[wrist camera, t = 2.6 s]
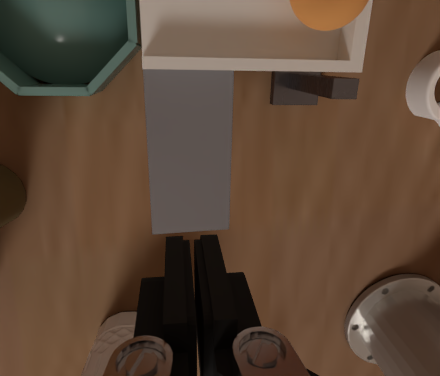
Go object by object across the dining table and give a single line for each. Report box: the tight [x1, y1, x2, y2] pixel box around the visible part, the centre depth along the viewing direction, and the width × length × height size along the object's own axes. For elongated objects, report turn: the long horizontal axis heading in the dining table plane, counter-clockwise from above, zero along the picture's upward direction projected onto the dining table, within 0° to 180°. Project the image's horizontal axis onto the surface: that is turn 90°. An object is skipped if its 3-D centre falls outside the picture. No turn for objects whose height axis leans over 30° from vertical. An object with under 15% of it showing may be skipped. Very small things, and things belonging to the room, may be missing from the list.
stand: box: [270, 71, 359, 105], centre depth 24 cm, size 4×14×10 cm, turn 179°
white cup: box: [81, 311, 137, 376], centre depth 33 cm, size 8×8×10 cm
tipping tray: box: [139, 0, 373, 234], centre depth 20 cm, size 12×18×2 cm, turn 179°
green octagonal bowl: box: [0, 0, 142, 96], centre depth 25 cm, size 12×12×4 cm
